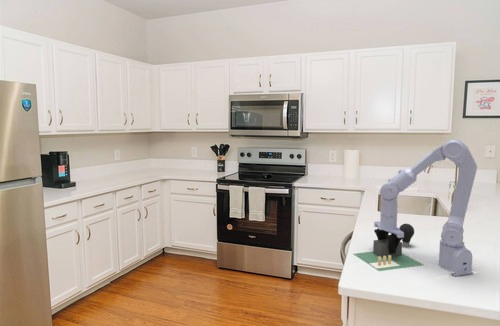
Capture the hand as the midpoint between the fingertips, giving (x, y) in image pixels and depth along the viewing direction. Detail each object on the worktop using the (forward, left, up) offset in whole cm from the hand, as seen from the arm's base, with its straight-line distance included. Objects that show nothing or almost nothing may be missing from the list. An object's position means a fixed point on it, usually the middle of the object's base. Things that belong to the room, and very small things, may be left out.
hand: (387, 250), depth 129 cm
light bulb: (+6, -13, -3) cm, 15 cm away
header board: (-4, +3, -2) cm, 6 cm away
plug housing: (0, 0, -1) cm, 1 cm away
